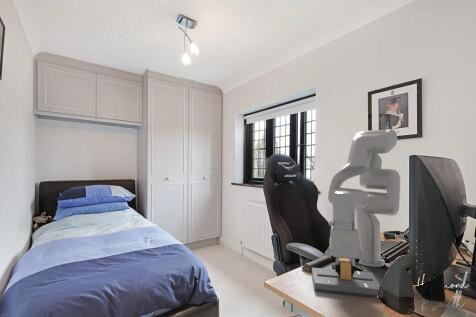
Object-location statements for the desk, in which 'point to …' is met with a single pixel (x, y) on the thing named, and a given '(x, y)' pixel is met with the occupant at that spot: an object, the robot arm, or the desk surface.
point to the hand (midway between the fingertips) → (344, 274)
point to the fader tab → (345, 268)
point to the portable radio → (433, 288)
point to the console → (345, 283)
